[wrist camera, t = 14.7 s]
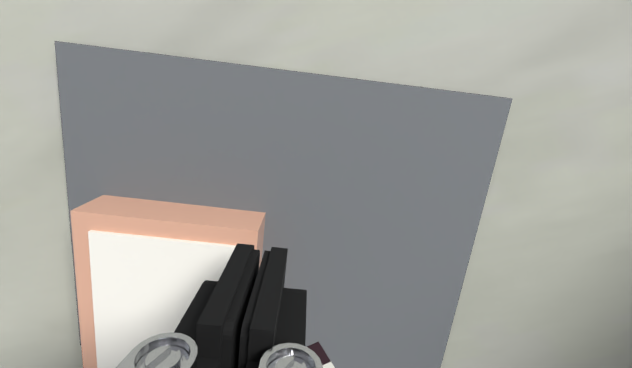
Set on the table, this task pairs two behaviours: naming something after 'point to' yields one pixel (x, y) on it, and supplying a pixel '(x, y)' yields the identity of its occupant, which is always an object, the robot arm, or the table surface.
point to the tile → (147, 266)
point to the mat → (301, 180)
